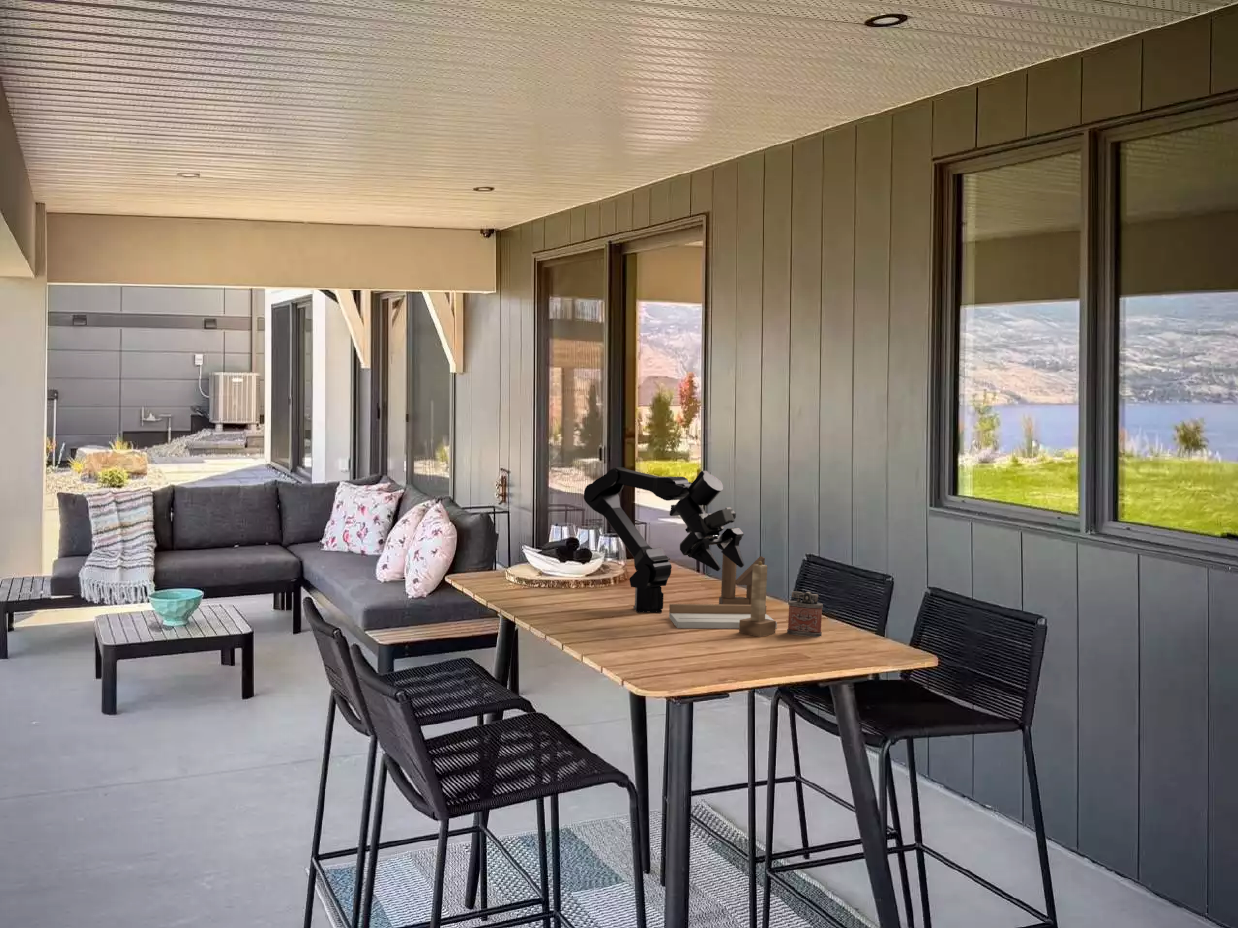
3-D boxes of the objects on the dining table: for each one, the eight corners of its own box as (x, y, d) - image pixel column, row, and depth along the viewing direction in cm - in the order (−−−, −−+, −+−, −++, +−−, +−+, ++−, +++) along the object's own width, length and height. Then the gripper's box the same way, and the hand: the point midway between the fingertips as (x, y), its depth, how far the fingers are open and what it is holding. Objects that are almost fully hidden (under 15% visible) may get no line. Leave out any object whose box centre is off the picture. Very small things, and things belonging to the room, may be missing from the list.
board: (677, 627, 278) (678, 613, 277) (669, 617, 289) (669, 603, 289) (776, 628, 281) (777, 614, 280) (764, 618, 292) (765, 604, 292)
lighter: (822, 634, 276) (824, 592, 275) (820, 637, 272) (822, 594, 272) (788, 631, 278) (790, 589, 277) (785, 634, 275) (787, 591, 274)
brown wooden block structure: (762, 613, 300) (765, 542, 299) (722, 613, 298) (724, 542, 297) (758, 610, 304) (761, 541, 302) (718, 610, 302) (720, 540, 301)
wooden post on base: (739, 632, 275) (742, 561, 274) (754, 629, 279) (757, 558, 278) (760, 636, 271) (763, 564, 270) (775, 633, 275) (778, 562, 274)
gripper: (690, 498, 276) (726, 549, 269) (738, 494, 289) (774, 543, 283) (663, 528, 281) (699, 580, 275) (712, 524, 295) (746, 572, 288)
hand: (731, 568), depth 280 cm, fingers open, 9 cm apart
